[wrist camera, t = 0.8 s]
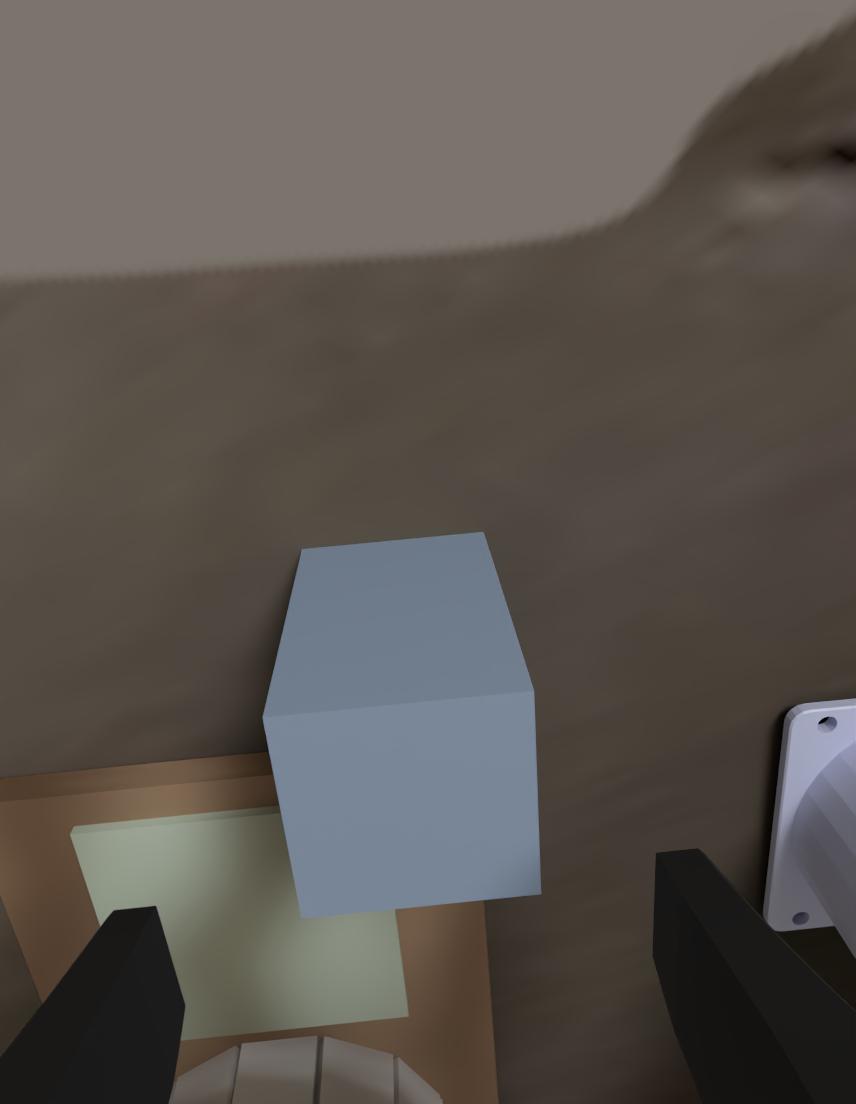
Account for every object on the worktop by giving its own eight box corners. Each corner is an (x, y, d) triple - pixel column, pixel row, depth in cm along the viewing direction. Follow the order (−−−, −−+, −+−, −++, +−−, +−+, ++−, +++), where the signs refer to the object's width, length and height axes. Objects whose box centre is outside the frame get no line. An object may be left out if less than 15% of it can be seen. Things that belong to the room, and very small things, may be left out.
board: (469, 731, 22) (484, 822, 18) (502, 1183, 29) (517, 1302, 26) (-17, 780, 21) (-87, 880, 18) (147, 1222, 29) (118, 1347, 26)
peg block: (483, 531, 19) (533, 690, 13) (492, 686, 21) (540, 893, 15) (301, 549, 19) (262, 717, 13) (325, 703, 21) (302, 918, 15)
